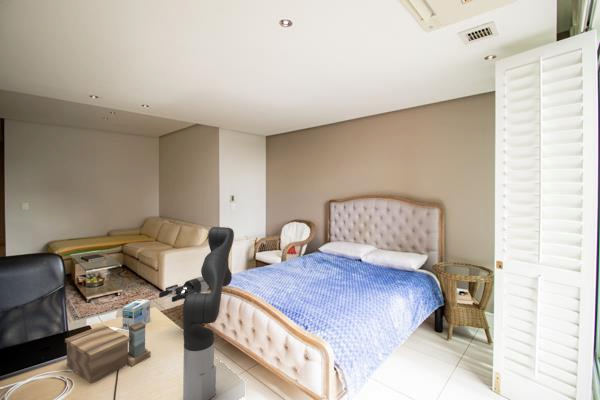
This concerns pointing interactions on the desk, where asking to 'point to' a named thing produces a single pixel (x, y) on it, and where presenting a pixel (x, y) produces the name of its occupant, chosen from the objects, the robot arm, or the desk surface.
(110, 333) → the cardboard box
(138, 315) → the light bulb box
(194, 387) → the robot arm
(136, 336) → the grey block with cap
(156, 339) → the desk surface
